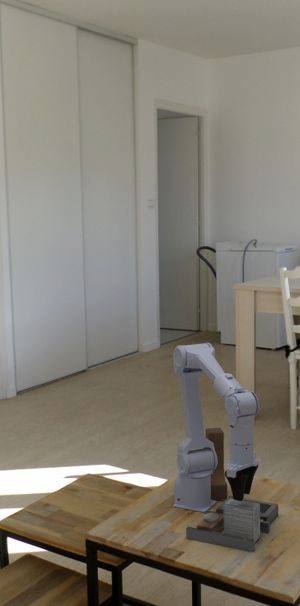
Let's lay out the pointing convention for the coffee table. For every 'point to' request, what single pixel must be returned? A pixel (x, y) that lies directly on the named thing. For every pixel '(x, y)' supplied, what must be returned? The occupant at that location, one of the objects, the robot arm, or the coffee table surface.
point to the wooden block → (218, 474)
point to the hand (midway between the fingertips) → (241, 496)
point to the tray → (266, 509)
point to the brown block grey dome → (212, 522)
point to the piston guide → (225, 536)
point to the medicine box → (242, 519)
